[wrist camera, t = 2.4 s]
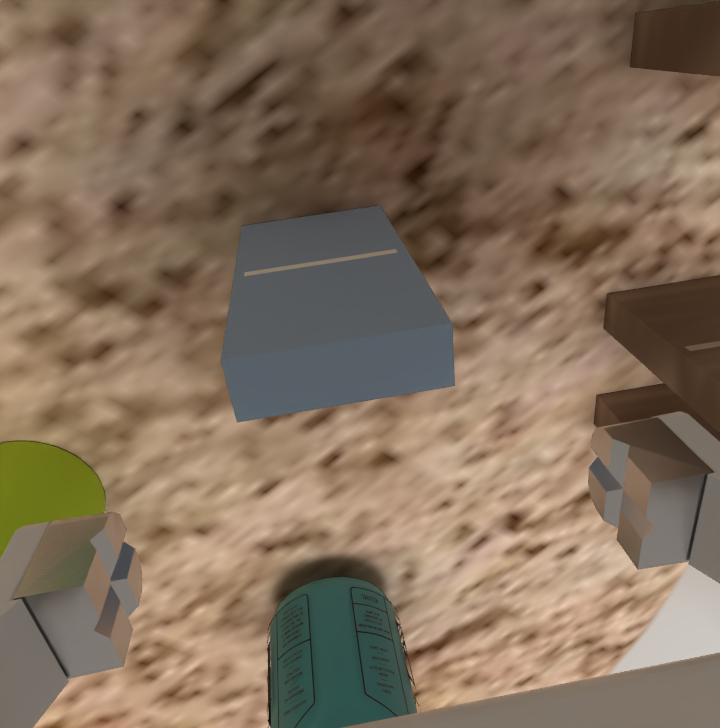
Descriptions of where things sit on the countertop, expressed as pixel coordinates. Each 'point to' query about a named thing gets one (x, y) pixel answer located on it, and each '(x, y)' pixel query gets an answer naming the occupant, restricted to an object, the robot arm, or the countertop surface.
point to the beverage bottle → (336, 657)
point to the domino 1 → (330, 317)
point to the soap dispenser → (43, 487)
